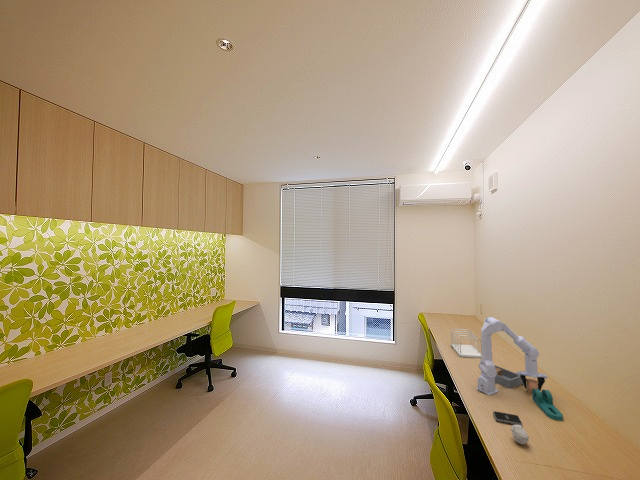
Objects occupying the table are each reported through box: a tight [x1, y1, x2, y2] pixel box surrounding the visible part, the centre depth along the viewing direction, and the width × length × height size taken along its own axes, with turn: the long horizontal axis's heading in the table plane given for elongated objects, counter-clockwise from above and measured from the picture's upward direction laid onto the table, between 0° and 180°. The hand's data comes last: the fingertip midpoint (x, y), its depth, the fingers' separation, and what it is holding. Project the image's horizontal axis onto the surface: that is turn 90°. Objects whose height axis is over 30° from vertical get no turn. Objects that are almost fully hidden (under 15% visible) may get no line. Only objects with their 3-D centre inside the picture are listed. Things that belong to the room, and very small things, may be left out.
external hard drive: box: [492, 410, 523, 427], centre depth 134 cm, size 7×11×2 cm, turn 68°
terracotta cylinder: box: [526, 377, 538, 395], centre depth 158 cm, size 5×5×7 cm
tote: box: [494, 364, 524, 389], centre depth 173 cm, size 14×18×5 cm
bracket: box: [531, 389, 564, 422], centre depth 141 cm, size 18×7×8 cm, turn 163°
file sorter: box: [450, 328, 482, 359], centre depth 222 cm, size 25×17×16 cm
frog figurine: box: [510, 425, 529, 445], centre depth 118 cm, size 6×7×7 cm
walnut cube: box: [495, 367, 503, 377], centre depth 177 cm, size 5×5×5 cm
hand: (532, 389), depth 158 cm, fingers open, 6 cm apart
